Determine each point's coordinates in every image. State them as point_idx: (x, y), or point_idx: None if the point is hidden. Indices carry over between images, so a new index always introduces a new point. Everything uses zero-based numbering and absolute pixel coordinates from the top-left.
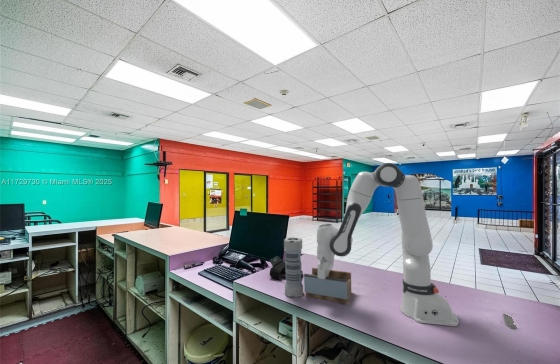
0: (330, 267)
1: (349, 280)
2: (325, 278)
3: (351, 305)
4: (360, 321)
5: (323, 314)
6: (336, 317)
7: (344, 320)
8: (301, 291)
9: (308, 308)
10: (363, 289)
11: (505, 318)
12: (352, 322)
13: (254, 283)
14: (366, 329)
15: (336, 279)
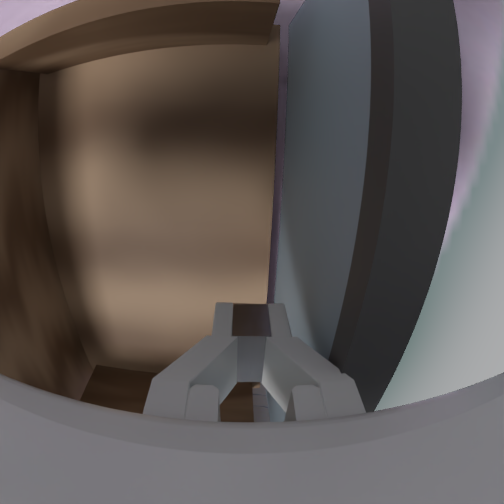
0: (55, 494)
1: (22, 30)
2: (388, 367)
3: (287, 15)
4: (455, 6)
5: (456, 206)
6: (468, 128)
7: (478, 86)
8: (262, 398)
9: None
10: (5, 28)
11: None
12: (478, 48)
13: None
14: (491, 6)
15: (456, 130)
